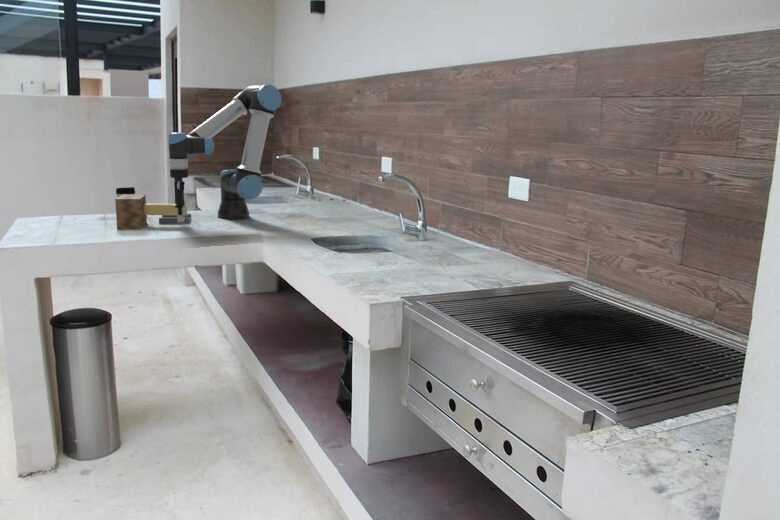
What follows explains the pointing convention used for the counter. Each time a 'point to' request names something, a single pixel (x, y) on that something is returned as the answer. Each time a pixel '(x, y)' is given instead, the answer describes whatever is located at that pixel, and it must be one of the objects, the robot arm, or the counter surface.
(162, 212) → the brass bar
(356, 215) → the counter surface
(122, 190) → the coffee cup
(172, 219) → the saddle tray
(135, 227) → the wooden block
